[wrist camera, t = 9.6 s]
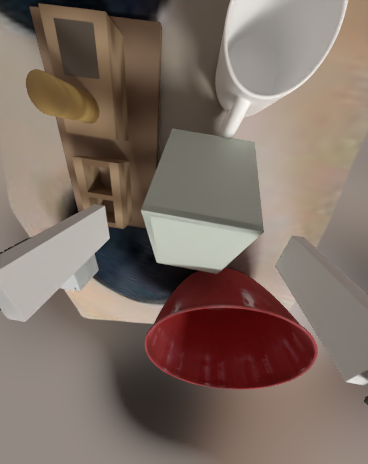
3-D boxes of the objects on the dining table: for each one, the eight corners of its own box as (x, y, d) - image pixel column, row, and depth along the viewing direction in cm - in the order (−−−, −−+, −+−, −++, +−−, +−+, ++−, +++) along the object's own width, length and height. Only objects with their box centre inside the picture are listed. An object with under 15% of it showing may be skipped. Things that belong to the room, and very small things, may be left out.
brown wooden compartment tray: (37, 12, 19) (-129, -123, 9) (162, 28, 19) (119, -98, 9) (83, 215, 33) (34, 243, 23) (155, 227, 32) (135, 260, 23)
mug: (240, 155, 24) (262, 159, 15) (193, 131, 23) (187, 122, 14) (296, 53, 18) (384, -37, 9) (235, 17, 18) (270, -118, 9)
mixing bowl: (295, 247, 31) (364, 323, 18) (258, 325, 45) (282, 400, 32) (161, 237, 34) (133, 297, 20) (165, 314, 48) (151, 380, 34)
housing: (172, 128, 18) (140, 209, 12) (254, 142, 17) (263, 232, 12) (172, 203, 29) (156, 262, 24) (221, 212, 29) (217, 273, 23)
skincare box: (95, 251, 38) (73, 273, 32) (99, 269, 41) (80, 292, 35) (71, 248, 38) (45, 268, 32) (77, 266, 41) (55, 288, 35)
